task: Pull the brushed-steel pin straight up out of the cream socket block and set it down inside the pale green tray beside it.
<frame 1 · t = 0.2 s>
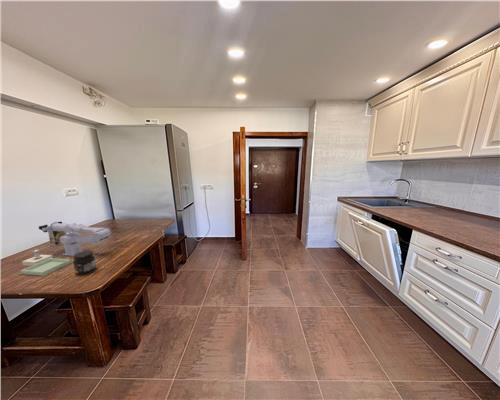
hand: (45, 226, 142), 21 cm above the table, tool horizontal, fingers open, 7 cm apart
supplement container: (86, 271, 118), on the table
socket block: (38, 262, 130), on the table
coffee box: (59, 244, 161), on the table
steel pin: (37, 256, 129), in the socket block
tray: (47, 268, 122), on the table
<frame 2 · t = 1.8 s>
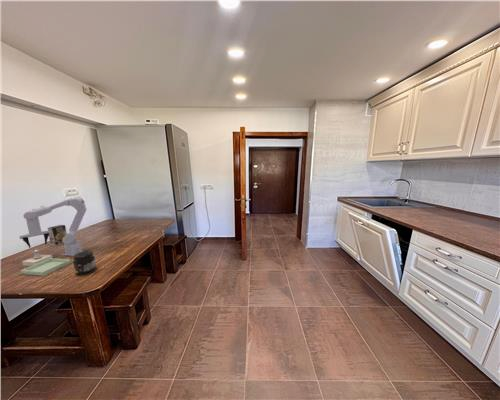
hand: (38, 245, 133), 10 cm above the table, tool pointing down, fingers open, 7 cm apart
nothing on the table moved.
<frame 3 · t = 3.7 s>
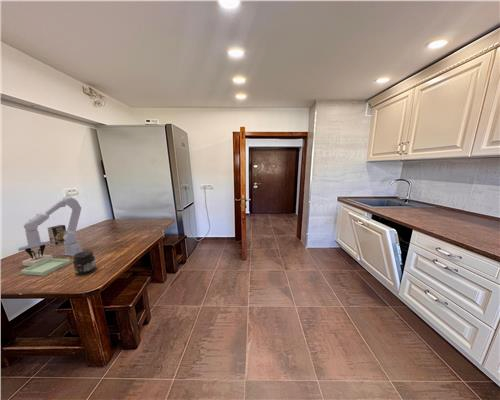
hand: (37, 257, 129), 4 cm above the table, tool pointing down, fingers closed on steel pin, 4 cm apart
steel pin: (37, 256, 129), in the socket block, touching gripper
everything else where it was.
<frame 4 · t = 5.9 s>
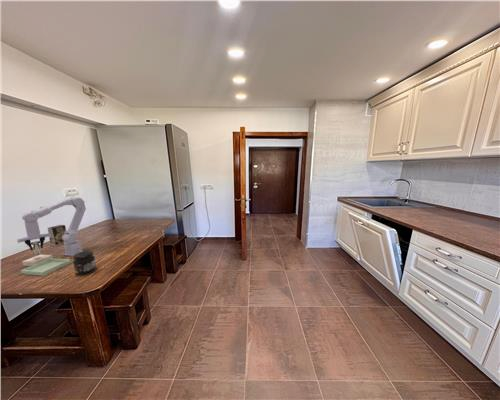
hand: (37, 249, 126), 10 cm above the table, tool pointing down, fingers closed on steel pin, 4 cm apart
steel pin: (36, 248, 126), point 11 cm above the table, touching gripper
everything else where it was.
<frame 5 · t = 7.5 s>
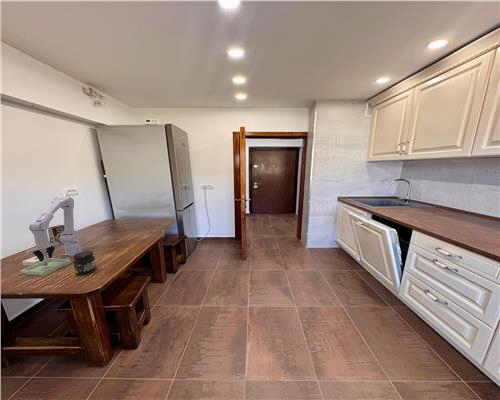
hand: (45, 259, 121), 6 cm above the table, tool pointing down, fingers closed on steel pin, 4 cm apart
steel pin: (44, 258, 121), point 7 cm above the table, tilted 8°, touching gripper
everything else where it was.
when the fingers open (6 cm above the table, at t = 8.3 s): steel pin drops 1 cm, resting on tray.
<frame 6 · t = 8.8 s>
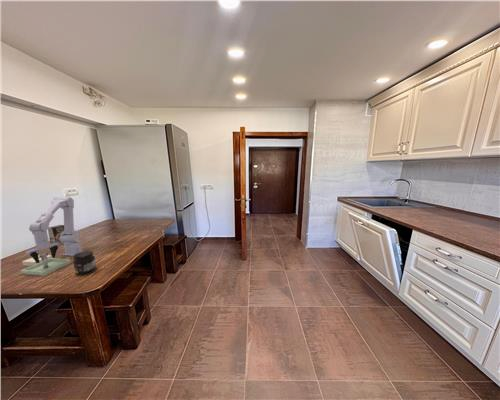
hand: (45, 259, 121), 6 cm above the table, tool pointing down, fingers open, 7 cm apart
steel pin: (44, 261, 121), in the tray
everything else where it was.
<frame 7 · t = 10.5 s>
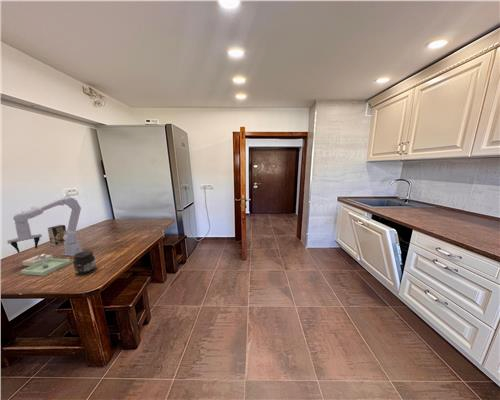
hand: (27, 250, 125), 10 cm above the table, tool pointing down, fingers open, 7 cm apart
nothing on the table moved.
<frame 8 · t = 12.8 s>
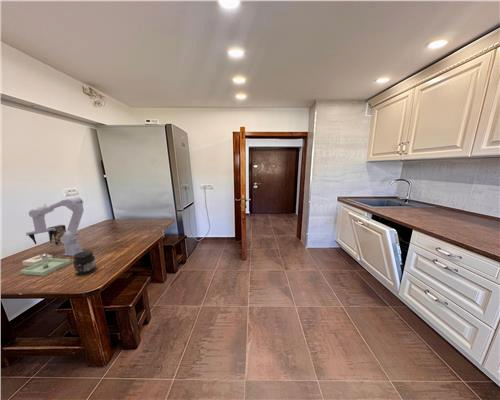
hand: (43, 242, 139), 10 cm above the table, tool pointing down, fingers open, 7 cm apart
nothing on the table moved.
at the end: steel pin inside the target area on the tray (1.4 cm from its centre), point 5.1 cm above the tray's base; the gripper is holding nothing; steel pin moved 15.8 cm from its start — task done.
